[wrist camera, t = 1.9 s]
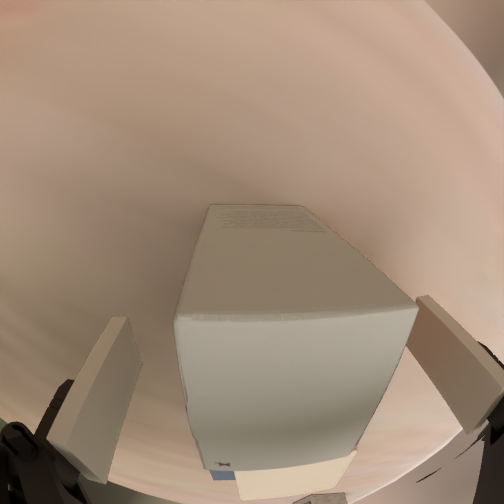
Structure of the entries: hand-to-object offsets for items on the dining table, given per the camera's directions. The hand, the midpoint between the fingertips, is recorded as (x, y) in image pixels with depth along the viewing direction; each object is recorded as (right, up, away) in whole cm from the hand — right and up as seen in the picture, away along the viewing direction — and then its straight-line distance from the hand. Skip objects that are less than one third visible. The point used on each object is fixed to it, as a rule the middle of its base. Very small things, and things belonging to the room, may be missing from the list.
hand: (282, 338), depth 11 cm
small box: (-1, +3, +8) cm, 9 cm away
